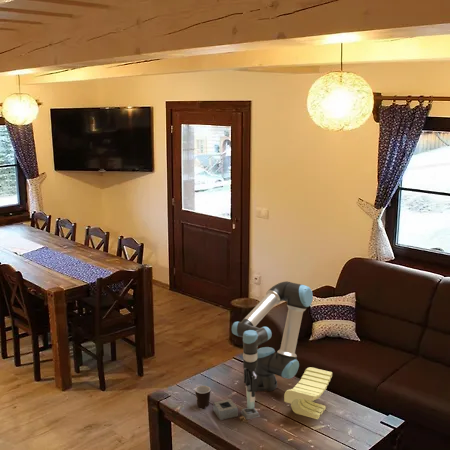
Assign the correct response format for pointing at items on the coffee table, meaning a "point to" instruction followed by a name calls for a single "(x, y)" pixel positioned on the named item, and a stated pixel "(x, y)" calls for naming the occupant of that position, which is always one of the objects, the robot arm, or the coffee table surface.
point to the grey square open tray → (250, 413)
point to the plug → (249, 404)
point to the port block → (225, 409)
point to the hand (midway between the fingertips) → (250, 399)
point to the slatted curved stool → (309, 393)
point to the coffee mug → (202, 396)
